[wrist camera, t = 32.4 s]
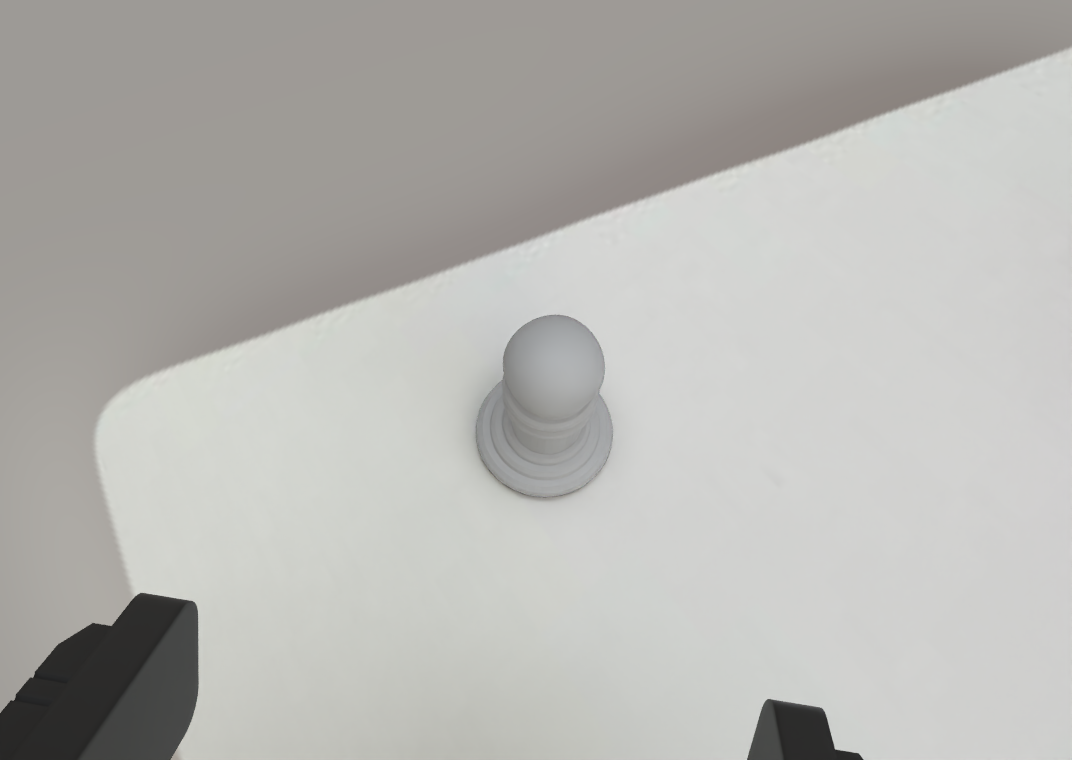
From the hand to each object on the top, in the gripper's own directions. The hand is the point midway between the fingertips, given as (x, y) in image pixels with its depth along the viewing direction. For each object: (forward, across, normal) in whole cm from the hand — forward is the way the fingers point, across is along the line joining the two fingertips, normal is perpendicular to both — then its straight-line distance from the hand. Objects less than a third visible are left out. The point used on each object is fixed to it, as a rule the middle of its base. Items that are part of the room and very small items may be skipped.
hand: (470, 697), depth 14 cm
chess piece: (+24, 0, +8) cm, 25 cm away
